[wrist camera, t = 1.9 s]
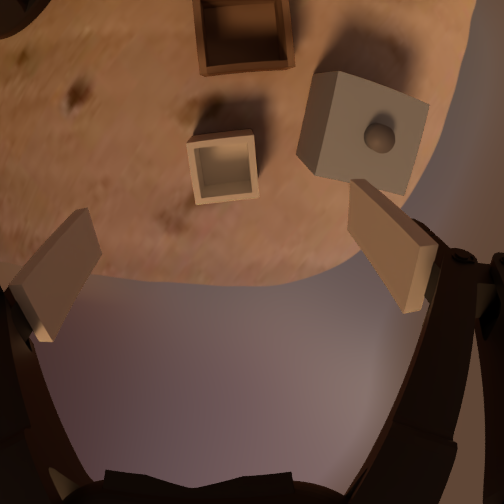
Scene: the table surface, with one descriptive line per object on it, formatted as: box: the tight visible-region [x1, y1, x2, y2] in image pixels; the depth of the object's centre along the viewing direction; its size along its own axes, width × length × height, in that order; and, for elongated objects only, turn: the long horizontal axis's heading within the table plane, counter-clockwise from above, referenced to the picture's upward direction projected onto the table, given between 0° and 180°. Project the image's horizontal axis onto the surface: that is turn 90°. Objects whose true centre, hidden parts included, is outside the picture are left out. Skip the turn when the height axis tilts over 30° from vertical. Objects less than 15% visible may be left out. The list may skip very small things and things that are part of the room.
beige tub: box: [186, 129, 259, 205], centre depth 29 cm, size 6×6×4 cm
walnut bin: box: [192, 0, 295, 77], centre depth 23 cm, size 8×8×5 cm
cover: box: [296, 71, 429, 196], centre depth 26 cm, size 9×9×9 cm
